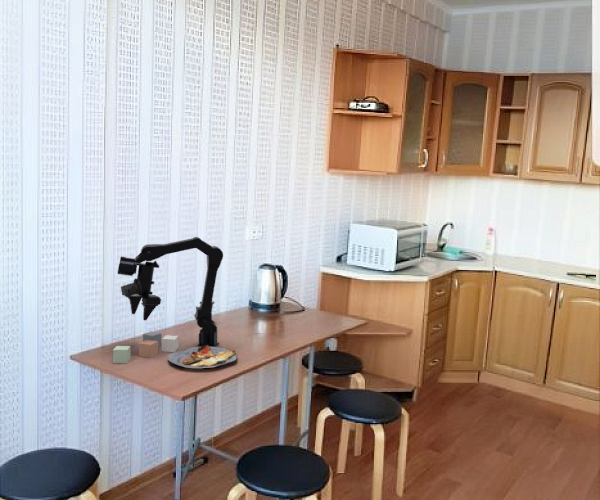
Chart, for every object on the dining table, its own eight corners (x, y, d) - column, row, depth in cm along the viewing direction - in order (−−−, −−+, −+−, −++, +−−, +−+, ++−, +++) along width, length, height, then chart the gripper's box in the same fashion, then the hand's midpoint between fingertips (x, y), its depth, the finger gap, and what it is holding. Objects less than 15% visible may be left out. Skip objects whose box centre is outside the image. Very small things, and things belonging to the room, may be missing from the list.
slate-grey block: (161, 345, 245) (161, 333, 245) (152, 348, 241) (152, 336, 240) (151, 343, 248) (151, 331, 247) (142, 346, 243) (142, 334, 243)
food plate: (207, 347, 244) (207, 338, 243) (250, 360, 229) (250, 351, 229) (155, 363, 225) (155, 354, 224) (198, 378, 210) (198, 368, 210)
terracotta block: (158, 354, 234) (158, 341, 233) (151, 357, 229) (151, 344, 229) (146, 352, 235) (146, 339, 235) (139, 356, 231) (139, 343, 230)
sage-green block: (130, 359, 227) (130, 346, 226) (127, 363, 222) (127, 350, 221) (116, 359, 227) (116, 345, 226) (113, 363, 222) (113, 349, 221)
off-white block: (178, 348, 242) (178, 336, 241) (174, 352, 237) (174, 339, 236) (165, 347, 242) (165, 335, 242) (161, 351, 238) (161, 338, 237)
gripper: (114, 271, 239) (108, 311, 240) (137, 282, 225) (131, 324, 226) (140, 272, 246) (134, 311, 248) (164, 283, 233) (158, 323, 234)
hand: (138, 317), depth 239 cm, fingers open, 9 cm apart
